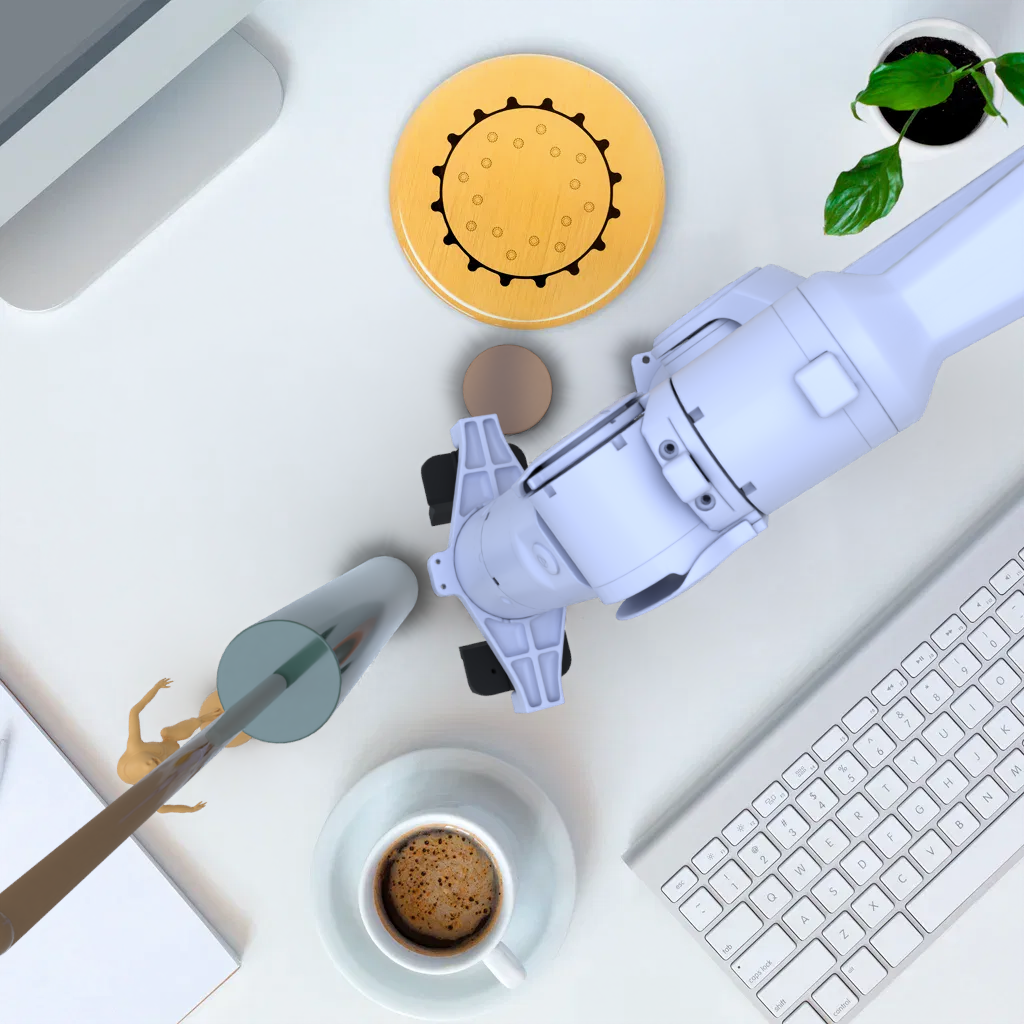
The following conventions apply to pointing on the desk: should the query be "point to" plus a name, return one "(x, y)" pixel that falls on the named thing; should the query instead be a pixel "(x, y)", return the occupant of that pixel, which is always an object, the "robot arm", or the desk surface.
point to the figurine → (166, 742)
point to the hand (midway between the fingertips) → (461, 582)
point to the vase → (240, 715)
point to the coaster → (508, 387)
